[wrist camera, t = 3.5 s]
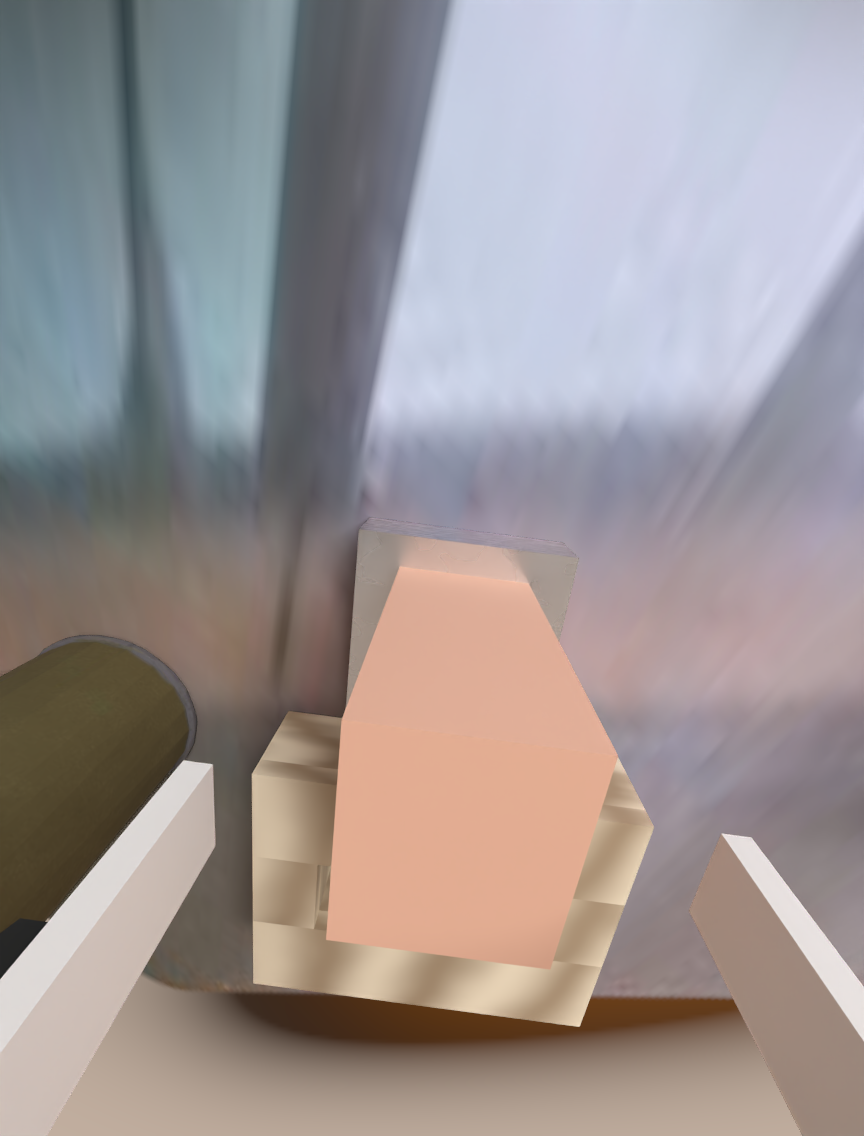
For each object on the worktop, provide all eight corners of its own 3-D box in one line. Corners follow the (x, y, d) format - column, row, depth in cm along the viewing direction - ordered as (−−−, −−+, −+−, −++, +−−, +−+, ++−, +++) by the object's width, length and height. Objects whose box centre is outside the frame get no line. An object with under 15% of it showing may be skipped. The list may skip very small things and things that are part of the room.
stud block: (392, 668, 24) (326, 939, 11) (405, 550, 22) (341, 719, 9) (496, 681, 24) (550, 969, 11) (519, 566, 22) (618, 756, 9)
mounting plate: (284, 897, 31) (253, 983, 26) (288, 710, 26) (251, 774, 21) (559, 934, 31) (579, 1026, 26) (616, 754, 26) (653, 827, 21)
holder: (357, 683, 25) (345, 715, 22) (370, 517, 22) (358, 529, 19) (525, 706, 25) (535, 740, 22) (563, 542, 22) (579, 558, 19)
